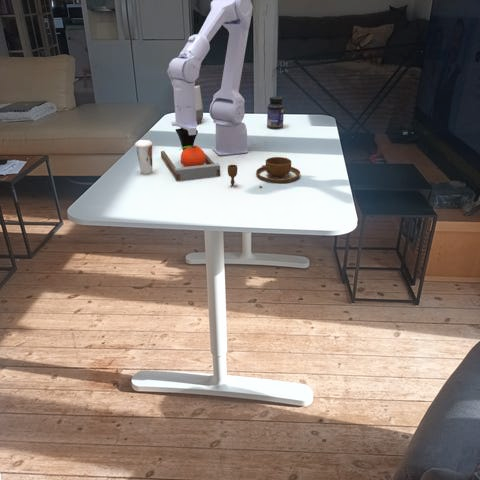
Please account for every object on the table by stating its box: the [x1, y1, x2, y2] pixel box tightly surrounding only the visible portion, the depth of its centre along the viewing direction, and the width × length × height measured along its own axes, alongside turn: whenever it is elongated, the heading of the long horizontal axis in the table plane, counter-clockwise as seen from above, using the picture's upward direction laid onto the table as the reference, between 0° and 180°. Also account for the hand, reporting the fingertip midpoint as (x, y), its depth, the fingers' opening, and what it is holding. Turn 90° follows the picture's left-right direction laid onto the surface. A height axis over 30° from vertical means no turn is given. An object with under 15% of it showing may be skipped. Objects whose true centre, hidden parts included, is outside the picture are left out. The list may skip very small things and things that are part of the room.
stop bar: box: [174, 163, 221, 182], centre depth 119 cm, size 12×2×3 cm, turn 110°
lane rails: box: [160, 150, 221, 182], centre depth 127 cm, size 12×22×2 cm, turn 20°
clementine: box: [180, 145, 206, 167], centre depth 123 cm, size 8×7×7 cm
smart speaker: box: [195, 85, 204, 125], centre depth 172 cm, size 10×9×14 cm
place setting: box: [227, 156, 301, 189], centre depth 119 cm, size 18×20×6 cm
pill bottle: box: [266, 96, 285, 130], centre depth 166 cm, size 6×6×11 cm
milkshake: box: [134, 133, 154, 175], centre depth 121 cm, size 4×5×10 cm
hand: (187, 154), depth 127 cm, fingers closed
